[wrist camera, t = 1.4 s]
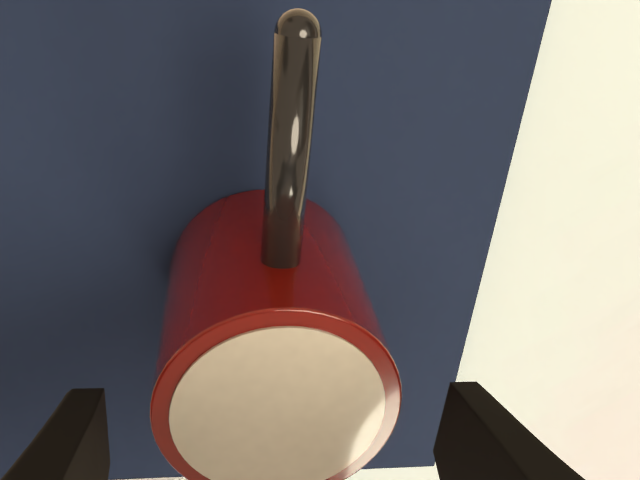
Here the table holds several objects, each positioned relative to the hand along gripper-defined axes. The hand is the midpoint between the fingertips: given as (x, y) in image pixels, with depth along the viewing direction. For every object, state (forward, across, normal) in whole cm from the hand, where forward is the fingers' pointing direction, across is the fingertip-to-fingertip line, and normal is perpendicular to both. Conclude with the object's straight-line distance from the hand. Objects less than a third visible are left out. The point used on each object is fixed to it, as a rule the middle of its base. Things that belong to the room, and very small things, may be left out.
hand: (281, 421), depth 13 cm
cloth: (+7, +1, 0) cm, 7 cm away
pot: (+6, 0, -3) cm, 7 cm away
